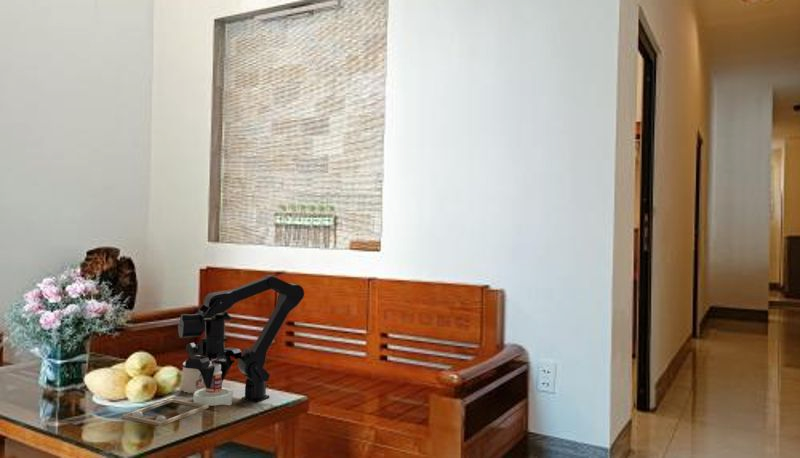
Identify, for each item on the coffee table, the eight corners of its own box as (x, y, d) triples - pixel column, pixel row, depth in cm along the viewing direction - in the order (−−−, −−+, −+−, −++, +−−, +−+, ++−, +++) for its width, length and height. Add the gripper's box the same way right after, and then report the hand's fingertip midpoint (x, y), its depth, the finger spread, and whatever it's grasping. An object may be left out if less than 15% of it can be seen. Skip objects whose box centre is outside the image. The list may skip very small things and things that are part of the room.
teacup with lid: (198, 395, 190) (199, 358, 190) (175, 391, 193) (176, 356, 193) (221, 386, 201) (222, 351, 201) (199, 383, 204) (200, 349, 204)
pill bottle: (216, 395, 178) (217, 367, 177) (202, 394, 178) (202, 366, 178) (224, 391, 182) (225, 363, 182) (210, 390, 183) (211, 362, 183)
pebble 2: (160, 424, 162) (161, 413, 162) (169, 426, 161) (169, 415, 161) (152, 427, 159) (152, 416, 159) (160, 429, 158) (160, 418, 158)
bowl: (211, 397, 187) (211, 385, 187) (239, 402, 183) (239, 390, 183) (185, 407, 177) (186, 394, 177) (214, 412, 173) (215, 399, 173)
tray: (171, 405, 178) (172, 398, 178) (208, 412, 173) (208, 405, 173) (121, 423, 162) (122, 415, 162) (160, 431, 156) (160, 423, 156)
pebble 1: (137, 419, 165) (137, 408, 165) (145, 421, 164) (145, 410, 164) (128, 422, 162) (129, 411, 162) (136, 424, 161) (137, 413, 161)
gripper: (215, 328, 192) (214, 376, 192) (171, 337, 175) (170, 390, 175) (243, 331, 188) (242, 380, 188) (200, 341, 170) (199, 395, 171)
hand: (213, 386), depth 180 cm, fingers closed on pill bottle, 5 cm apart
